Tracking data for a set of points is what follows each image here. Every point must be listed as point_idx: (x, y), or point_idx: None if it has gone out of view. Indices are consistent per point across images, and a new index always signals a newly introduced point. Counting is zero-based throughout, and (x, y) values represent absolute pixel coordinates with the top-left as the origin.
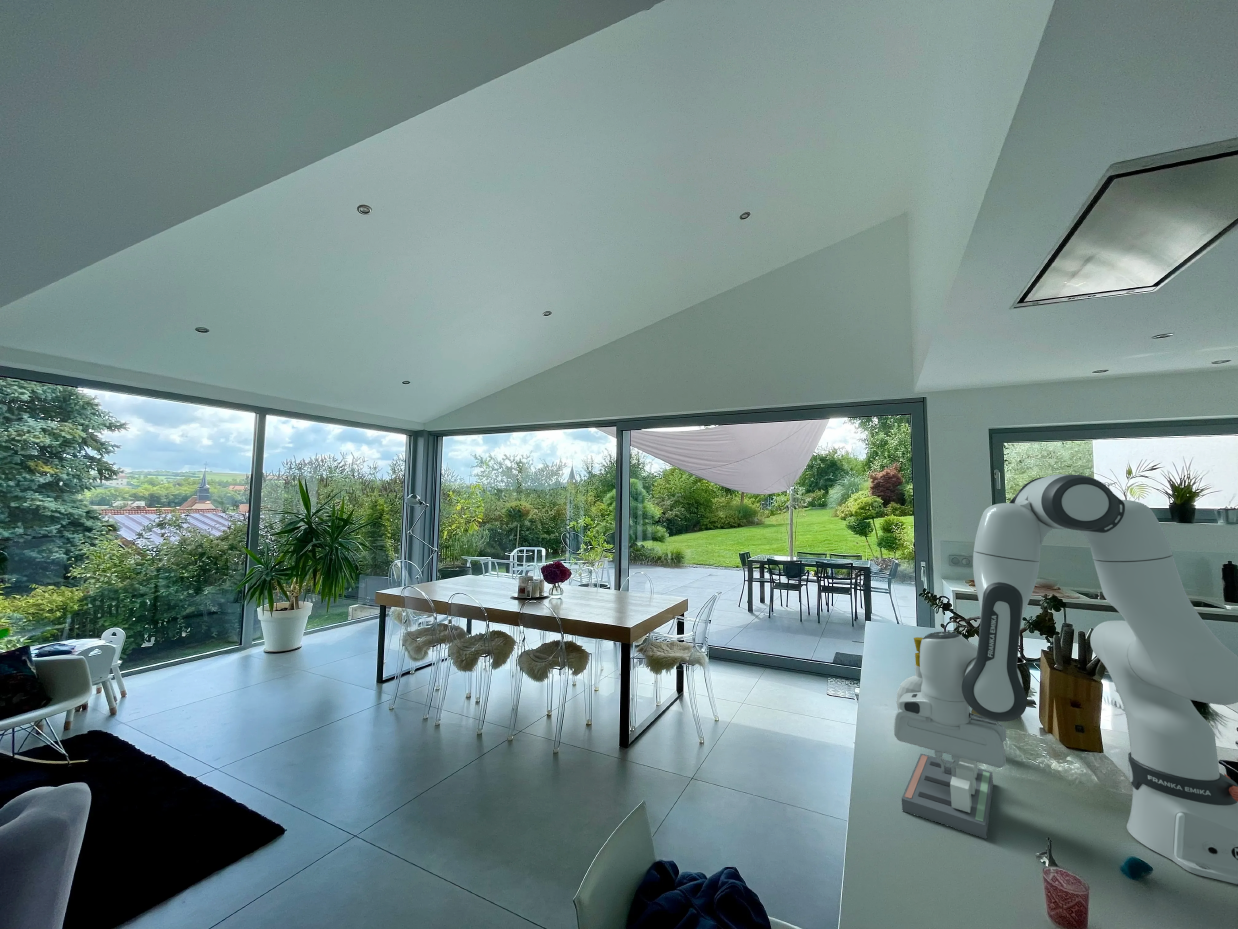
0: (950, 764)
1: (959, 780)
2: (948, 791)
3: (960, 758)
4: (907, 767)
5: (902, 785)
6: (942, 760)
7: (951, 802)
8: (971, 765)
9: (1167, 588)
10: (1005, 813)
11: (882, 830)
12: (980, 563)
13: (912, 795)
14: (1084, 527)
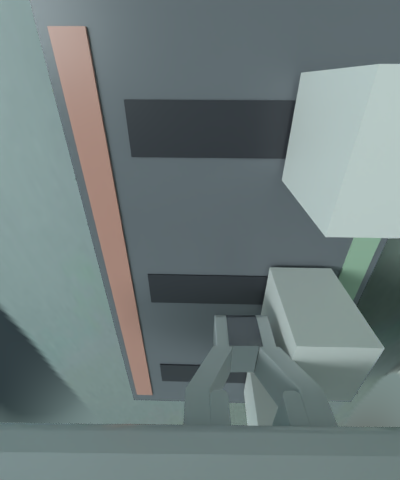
0: (255, 351)
1: None
2: None
3: (322, 393)
4: (36, 113)
5: (93, 273)
6: (221, 387)
7: (245, 405)
8: (367, 355)
9: None
10: (383, 261)
11: (134, 417)
12: None
13: (150, 384)
14: None
